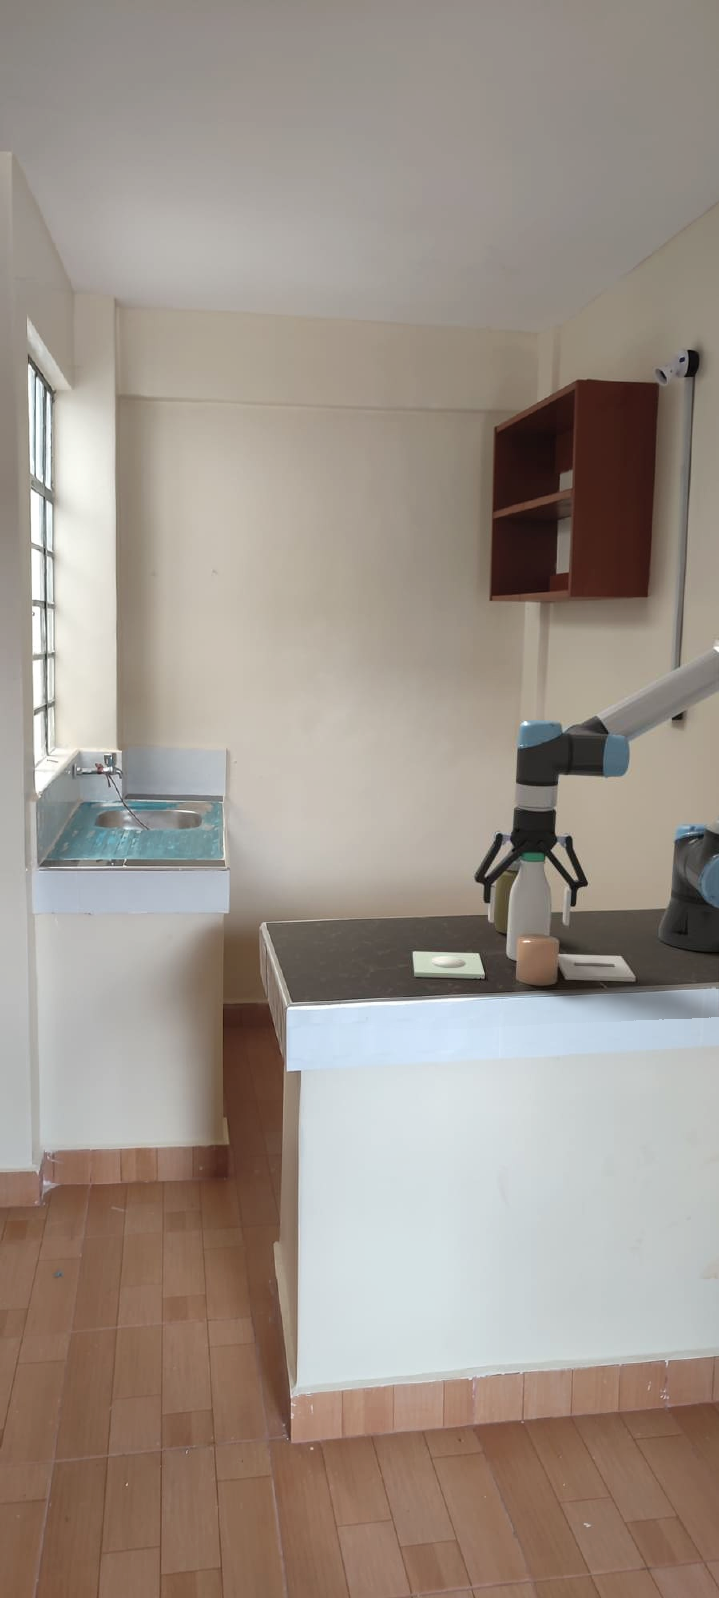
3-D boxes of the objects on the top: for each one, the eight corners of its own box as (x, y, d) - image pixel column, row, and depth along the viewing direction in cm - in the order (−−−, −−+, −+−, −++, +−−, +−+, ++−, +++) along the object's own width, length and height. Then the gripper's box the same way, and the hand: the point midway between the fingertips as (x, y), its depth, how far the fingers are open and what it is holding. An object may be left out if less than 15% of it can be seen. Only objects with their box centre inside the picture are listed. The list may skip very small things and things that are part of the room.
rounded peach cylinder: (553, 973, 199) (555, 934, 198) (559, 986, 192) (562, 946, 191) (513, 971, 199) (515, 933, 198) (518, 984, 192) (520, 945, 191)
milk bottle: (547, 965, 203) (554, 856, 200) (504, 962, 204) (509, 853, 201) (549, 953, 210) (555, 847, 207) (507, 949, 212) (513, 844, 208)
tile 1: (478, 957, 206) (478, 952, 206) (484, 978, 195) (484, 973, 194) (412, 955, 207) (412, 950, 206) (414, 976, 195) (414, 971, 195)
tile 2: (620, 960, 207) (621, 955, 207) (635, 981, 195) (635, 976, 195) (554, 958, 207) (555, 953, 207) (565, 979, 195) (565, 973, 195)
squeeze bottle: (508, 923, 230) (513, 836, 227) (540, 932, 224) (545, 843, 221) (482, 930, 224) (486, 841, 221) (514, 939, 218) (518, 848, 215)
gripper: (601, 806, 206) (593, 919, 210) (463, 800, 207) (458, 913, 210) (609, 813, 199) (600, 930, 202) (467, 808, 199) (461, 925, 203)
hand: (528, 922), depth 206 cm, fingers open, 13 cm apart
